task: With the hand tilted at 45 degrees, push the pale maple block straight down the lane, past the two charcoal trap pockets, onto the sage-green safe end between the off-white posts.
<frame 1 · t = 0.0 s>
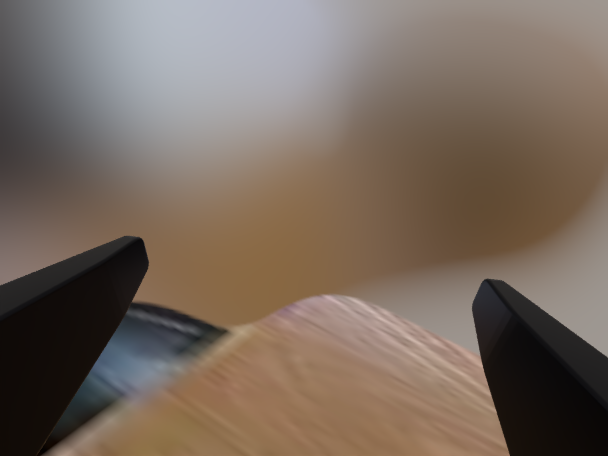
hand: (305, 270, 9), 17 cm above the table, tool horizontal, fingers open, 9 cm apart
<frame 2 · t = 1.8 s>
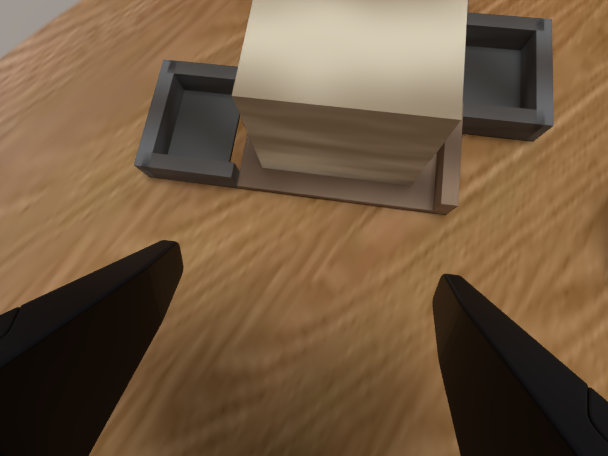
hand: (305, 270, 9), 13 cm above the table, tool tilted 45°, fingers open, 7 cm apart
maple block: (348, 85, 24), resting on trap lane
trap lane: (354, 38, 25), on the table
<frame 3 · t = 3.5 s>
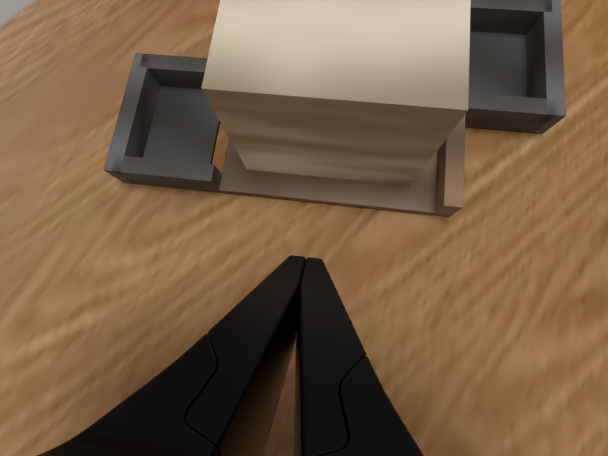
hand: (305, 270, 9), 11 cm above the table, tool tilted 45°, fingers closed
maple block: (338, 77, 22), resting on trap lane
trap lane: (345, 25, 23), on the table
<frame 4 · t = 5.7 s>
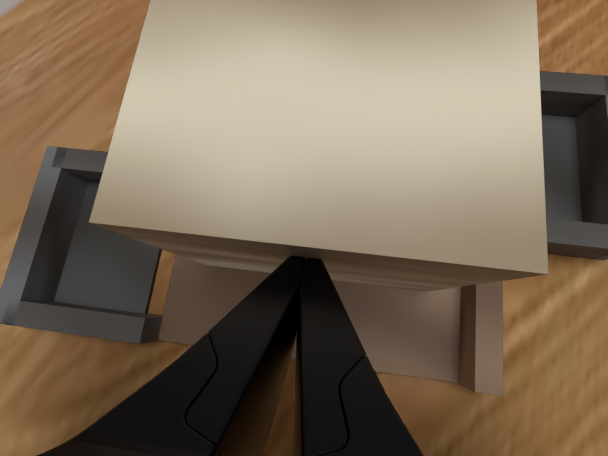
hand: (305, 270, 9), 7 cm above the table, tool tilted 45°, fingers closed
maple block: (330, 137, 16), point 1 cm above the table, touching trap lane
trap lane: (334, 100, 18), on the table
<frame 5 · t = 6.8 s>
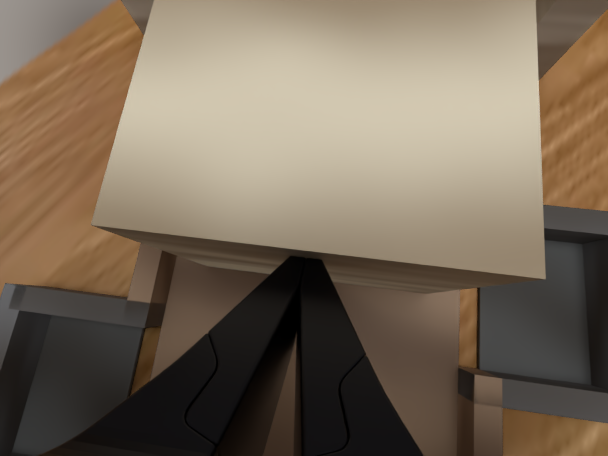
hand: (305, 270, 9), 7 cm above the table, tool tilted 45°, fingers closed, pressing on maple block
maple block: (330, 139, 17), point 1 cm above the table, touching gripper
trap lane: (320, 216, 16), on the table
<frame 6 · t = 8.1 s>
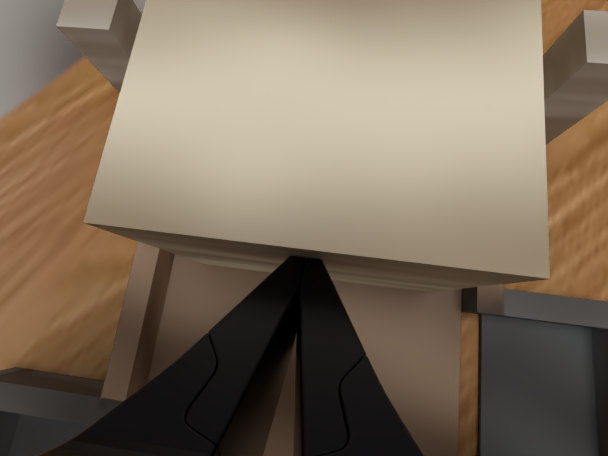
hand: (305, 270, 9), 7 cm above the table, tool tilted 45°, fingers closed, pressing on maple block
maple block: (330, 136, 16), resting on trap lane, touching gripper
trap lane: (311, 292, 15), on the table
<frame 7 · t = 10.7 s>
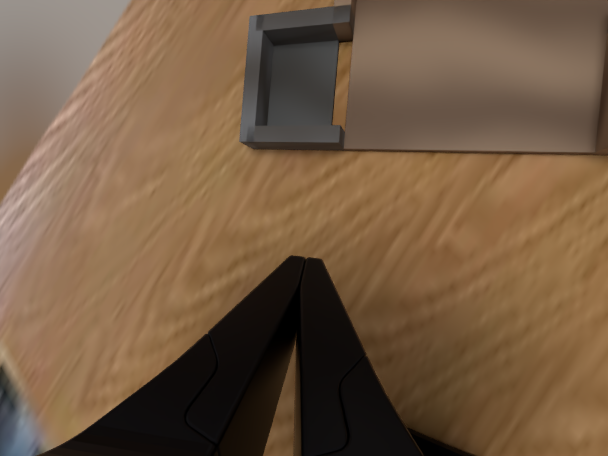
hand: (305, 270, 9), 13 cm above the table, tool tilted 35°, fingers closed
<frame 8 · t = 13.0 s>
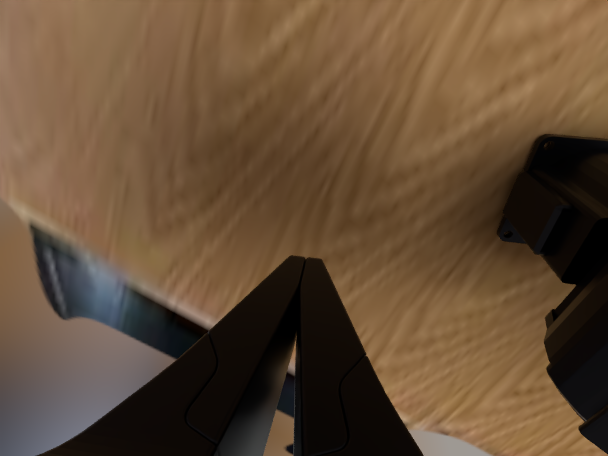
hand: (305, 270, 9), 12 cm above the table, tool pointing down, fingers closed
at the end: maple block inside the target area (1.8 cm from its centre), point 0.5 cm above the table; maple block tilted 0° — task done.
